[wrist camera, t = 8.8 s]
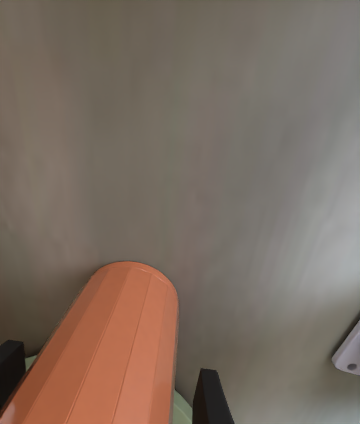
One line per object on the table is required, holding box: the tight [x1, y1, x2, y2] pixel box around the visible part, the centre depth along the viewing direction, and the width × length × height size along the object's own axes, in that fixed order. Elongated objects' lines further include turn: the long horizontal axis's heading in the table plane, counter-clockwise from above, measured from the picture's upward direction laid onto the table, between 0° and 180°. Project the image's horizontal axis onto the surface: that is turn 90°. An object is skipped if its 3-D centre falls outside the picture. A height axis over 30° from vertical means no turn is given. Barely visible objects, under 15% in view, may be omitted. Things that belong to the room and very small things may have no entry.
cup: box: [0, 261, 179, 424], centre depth 10 cm, size 5×5×8 cm
